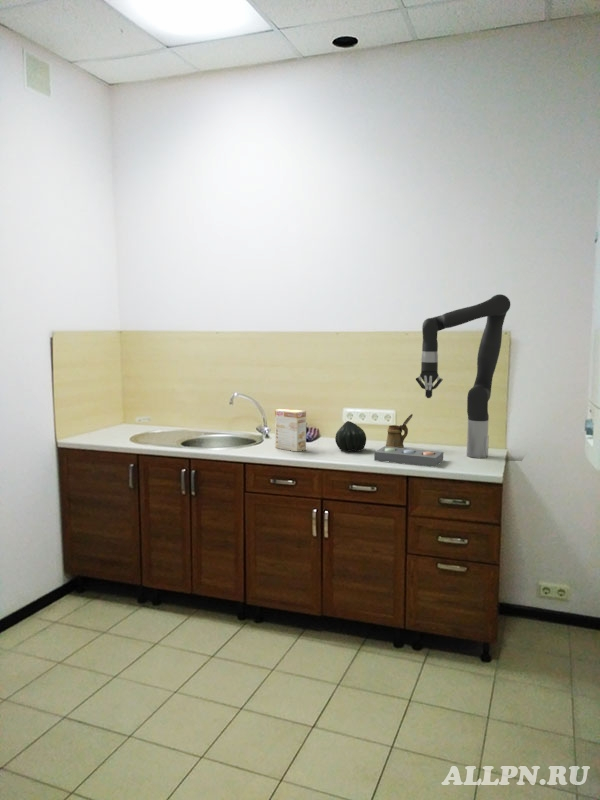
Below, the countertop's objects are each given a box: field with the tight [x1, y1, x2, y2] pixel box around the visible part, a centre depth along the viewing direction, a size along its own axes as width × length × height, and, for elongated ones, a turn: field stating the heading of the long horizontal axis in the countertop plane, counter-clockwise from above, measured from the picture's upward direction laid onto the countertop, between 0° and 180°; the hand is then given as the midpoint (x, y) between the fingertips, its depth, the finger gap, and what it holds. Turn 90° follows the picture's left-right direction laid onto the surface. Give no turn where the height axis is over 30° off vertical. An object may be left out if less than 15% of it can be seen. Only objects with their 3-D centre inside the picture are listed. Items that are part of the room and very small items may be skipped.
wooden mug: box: [385, 413, 413, 448], centre depth 304 cm, size 9×14×18 cm, turn 62°
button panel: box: [373, 445, 444, 467], centre depth 279 cm, size 28×14×4 cm, turn 63°
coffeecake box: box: [274, 408, 307, 452], centre depth 304 cm, size 15×7×20 cm, turn 48°
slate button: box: [404, 450, 414, 454], centre depth 279 cm, size 5×5×3 cm
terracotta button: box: [423, 452, 434, 456], centre depth 275 cm, size 5×5×3 cm
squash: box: [335, 420, 367, 452], centre depth 301 cm, size 14×15×15 cm
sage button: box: [385, 448, 395, 452], centre depth 283 cm, size 5×5×3 cm
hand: (428, 397), depth 289 cm, fingers closed
